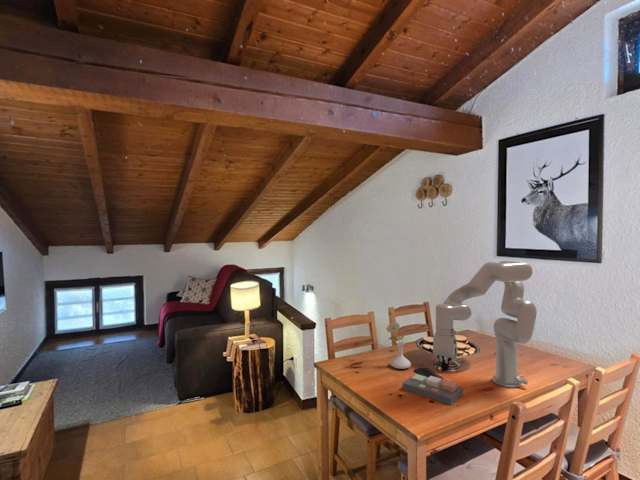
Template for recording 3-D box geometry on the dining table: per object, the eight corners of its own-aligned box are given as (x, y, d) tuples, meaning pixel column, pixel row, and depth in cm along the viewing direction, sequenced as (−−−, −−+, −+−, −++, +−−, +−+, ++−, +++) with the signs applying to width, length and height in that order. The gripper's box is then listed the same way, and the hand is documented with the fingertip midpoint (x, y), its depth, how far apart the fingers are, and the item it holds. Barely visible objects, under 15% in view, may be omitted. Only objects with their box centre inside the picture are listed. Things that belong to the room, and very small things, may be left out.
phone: (425, 367, 188) (443, 378, 174) (425, 369, 188) (443, 380, 174) (413, 369, 186) (430, 380, 171) (413, 371, 186) (430, 382, 171)
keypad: (462, 393, 159) (462, 386, 159) (451, 405, 149) (451, 398, 148) (416, 379, 174) (416, 373, 174) (402, 389, 164) (402, 382, 164)
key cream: (441, 385, 163) (441, 378, 163) (437, 389, 159) (437, 382, 159) (431, 381, 167) (431, 375, 167) (426, 385, 163) (426, 379, 163)
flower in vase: (409, 362, 196) (408, 319, 195) (412, 371, 185) (412, 325, 184) (385, 362, 197) (385, 319, 197) (387, 370, 186) (387, 324, 185)
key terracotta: (457, 389, 158) (457, 383, 158) (453, 394, 154) (453, 387, 154) (446, 386, 162) (446, 380, 162) (441, 390, 158) (441, 384, 158)
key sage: (426, 383, 168) (426, 376, 168) (421, 386, 164) (421, 380, 164) (416, 379, 172) (416, 373, 172) (411, 383, 168) (411, 377, 168)
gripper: (464, 332, 156) (464, 372, 157) (432, 326, 167) (433, 364, 167) (457, 336, 151) (457, 377, 152) (425, 330, 161) (426, 368, 162)
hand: (445, 370), depth 159 cm, fingers closed
